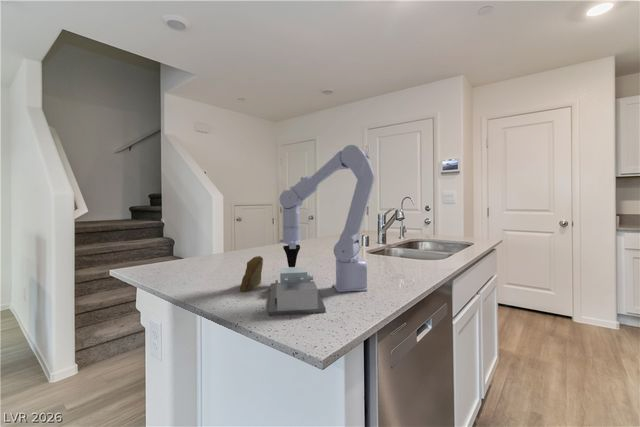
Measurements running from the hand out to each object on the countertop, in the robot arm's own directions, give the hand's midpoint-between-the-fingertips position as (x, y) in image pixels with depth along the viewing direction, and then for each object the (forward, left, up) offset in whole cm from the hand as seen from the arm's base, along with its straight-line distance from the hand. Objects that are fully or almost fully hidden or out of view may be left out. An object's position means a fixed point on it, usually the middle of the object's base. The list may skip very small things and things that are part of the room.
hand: (291, 266), depth 103 cm
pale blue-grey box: (-1, +10, -4) cm, 11 cm away
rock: (+14, +2, -6) cm, 15 cm away
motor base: (0, +15, -6) cm, 17 cm away
